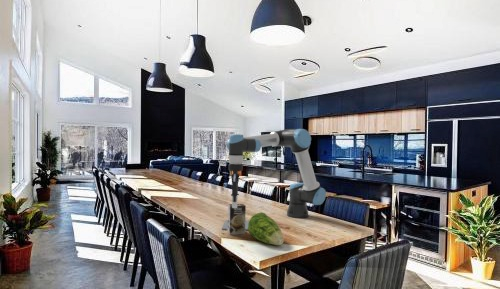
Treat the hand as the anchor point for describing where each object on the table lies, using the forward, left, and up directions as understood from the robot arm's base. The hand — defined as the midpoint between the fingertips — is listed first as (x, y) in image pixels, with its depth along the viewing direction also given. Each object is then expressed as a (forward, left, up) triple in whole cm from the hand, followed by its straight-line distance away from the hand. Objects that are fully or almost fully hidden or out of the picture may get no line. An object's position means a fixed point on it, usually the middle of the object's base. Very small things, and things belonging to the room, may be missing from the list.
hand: (234, 207), depth 159 cm
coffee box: (0, -12, -17) cm, 21 cm away
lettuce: (-18, +1, -17) cm, 25 cm away
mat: (0, -26, -17) cm, 31 cm away
